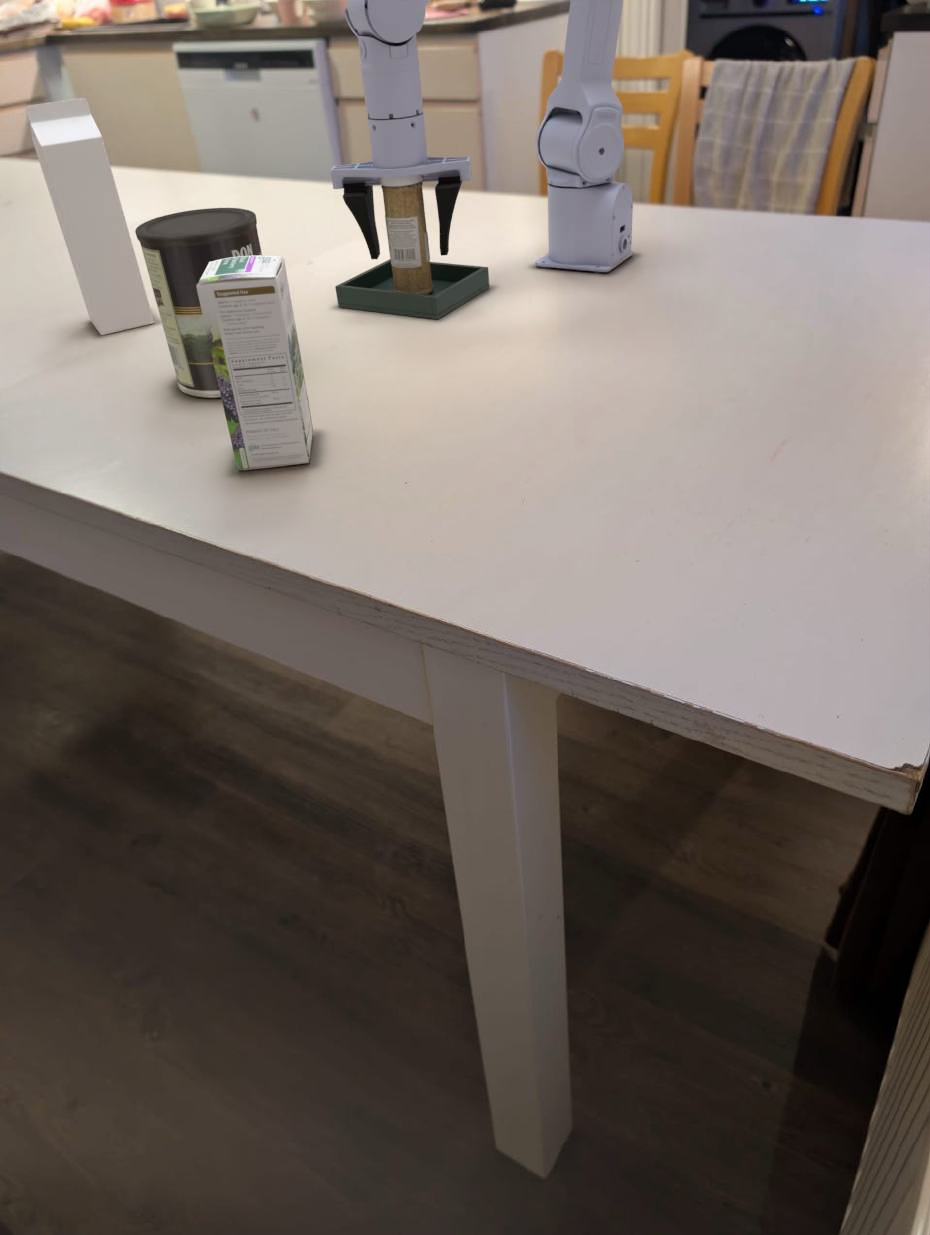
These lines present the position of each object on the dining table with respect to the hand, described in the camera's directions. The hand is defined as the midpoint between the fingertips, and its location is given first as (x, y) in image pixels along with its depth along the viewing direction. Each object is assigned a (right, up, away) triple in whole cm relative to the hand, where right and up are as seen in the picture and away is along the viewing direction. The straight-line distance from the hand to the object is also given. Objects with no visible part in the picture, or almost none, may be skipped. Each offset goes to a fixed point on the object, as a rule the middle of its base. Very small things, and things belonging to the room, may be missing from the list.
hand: (410, 254), depth 100 cm
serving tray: (0, -4, +3) cm, 5 cm away
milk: (-33, -7, +3) cm, 34 cm away
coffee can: (-16, -17, -13) cm, 27 cm away
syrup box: (-9, -27, -27) cm, 39 cm away
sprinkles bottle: (0, -4, +3) cm, 4 cm away
